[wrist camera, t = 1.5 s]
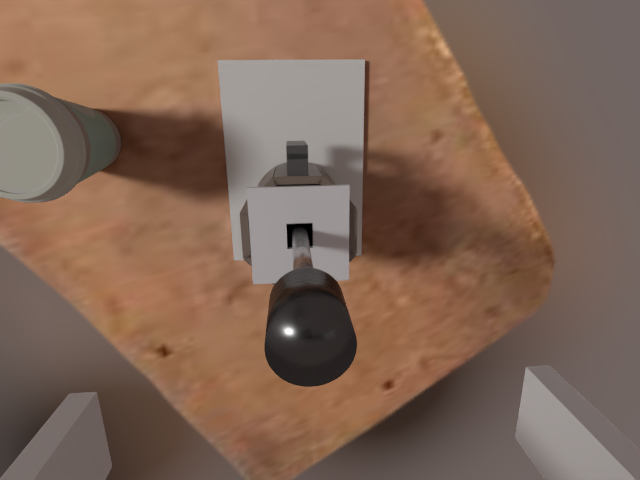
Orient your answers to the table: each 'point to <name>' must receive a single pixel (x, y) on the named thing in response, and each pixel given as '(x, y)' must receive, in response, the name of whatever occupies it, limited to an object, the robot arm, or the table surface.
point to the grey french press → (298, 219)
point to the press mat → (291, 124)
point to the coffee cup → (50, 144)
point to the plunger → (308, 322)
